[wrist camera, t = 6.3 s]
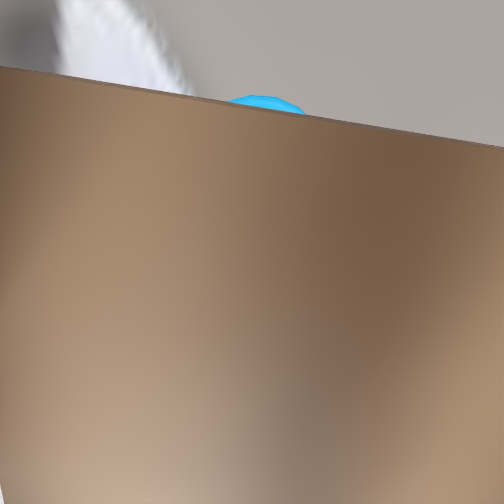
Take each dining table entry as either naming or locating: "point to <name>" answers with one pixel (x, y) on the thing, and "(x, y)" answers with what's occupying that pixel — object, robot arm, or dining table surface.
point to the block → (243, 304)
